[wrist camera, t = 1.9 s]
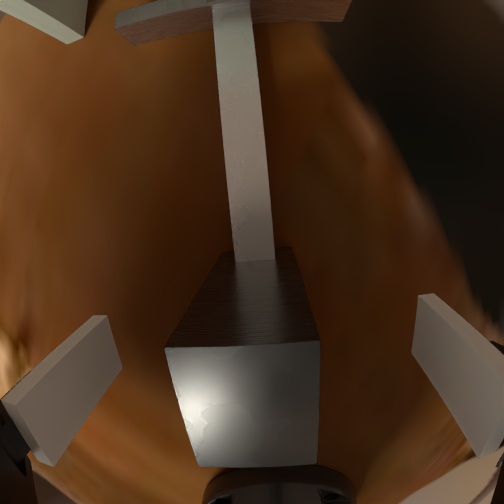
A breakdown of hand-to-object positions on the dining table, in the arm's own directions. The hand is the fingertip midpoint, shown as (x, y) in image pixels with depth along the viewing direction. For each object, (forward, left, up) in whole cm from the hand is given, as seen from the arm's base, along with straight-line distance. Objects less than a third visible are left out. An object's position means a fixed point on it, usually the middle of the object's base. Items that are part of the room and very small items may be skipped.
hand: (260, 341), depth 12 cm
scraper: (+7, 0, -7) cm, 10 cm away
